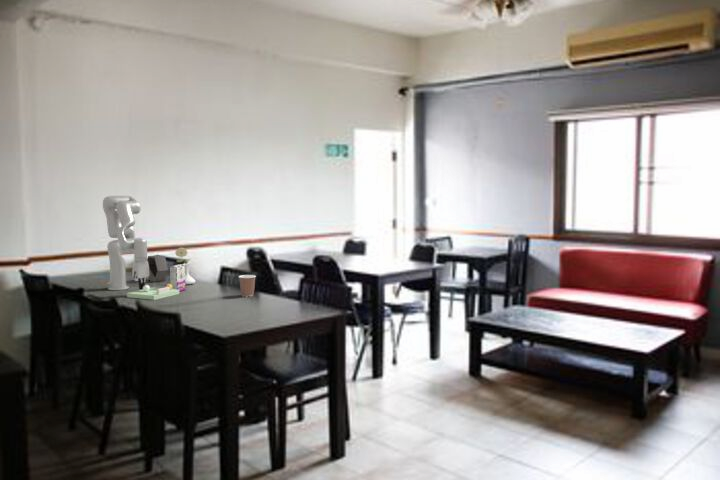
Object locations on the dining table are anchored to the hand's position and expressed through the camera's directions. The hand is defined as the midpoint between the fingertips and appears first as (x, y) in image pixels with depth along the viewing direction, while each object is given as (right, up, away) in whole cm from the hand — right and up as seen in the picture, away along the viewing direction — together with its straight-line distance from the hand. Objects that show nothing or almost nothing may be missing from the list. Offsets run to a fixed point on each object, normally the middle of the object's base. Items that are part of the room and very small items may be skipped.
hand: (141, 289), depth 376 cm
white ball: (+1, 0, -1) cm, 2 cm away
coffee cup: (+65, -4, -1) cm, 65 cm away
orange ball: (+16, -1, +2) cm, 16 cm away
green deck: (+7, -4, 0) cm, 8 cm away
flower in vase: (+15, 0, +42) cm, 44 cm away
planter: (-10, +1, +56) cm, 57 cm away
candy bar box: (+18, -3, +14) cm, 23 cm away
